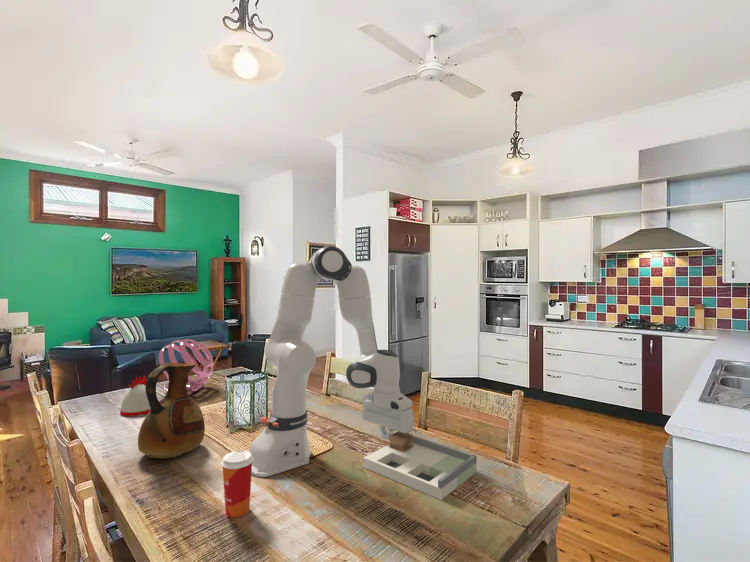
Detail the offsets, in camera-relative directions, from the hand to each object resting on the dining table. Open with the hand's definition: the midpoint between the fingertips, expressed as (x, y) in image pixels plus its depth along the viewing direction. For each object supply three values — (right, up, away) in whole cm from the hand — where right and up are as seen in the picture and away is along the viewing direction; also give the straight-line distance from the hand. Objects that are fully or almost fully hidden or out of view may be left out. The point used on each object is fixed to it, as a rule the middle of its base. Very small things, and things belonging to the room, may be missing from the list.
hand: (386, 439), depth 137 cm
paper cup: (-39, -5, -35) cm, 52 cm away
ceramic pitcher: (-72, -4, -1) cm, 72 cm away
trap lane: (+9, -4, -13) cm, 17 cm away
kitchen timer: (-108, -4, +41) cm, 115 cm away
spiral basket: (-100, -3, +70) cm, 122 cm away
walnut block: (+5, -1, -4) cm, 6 cm away
